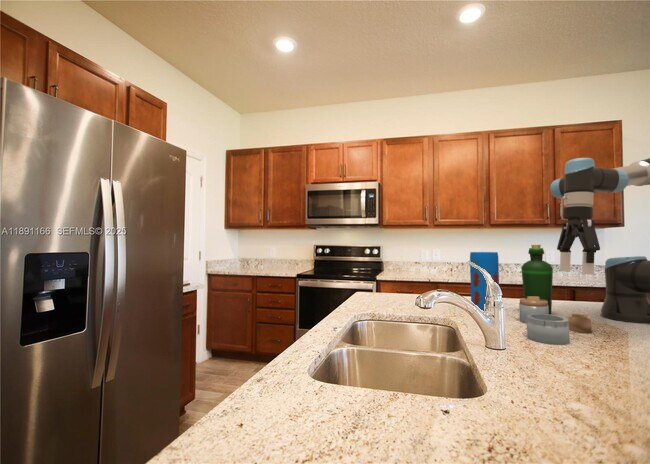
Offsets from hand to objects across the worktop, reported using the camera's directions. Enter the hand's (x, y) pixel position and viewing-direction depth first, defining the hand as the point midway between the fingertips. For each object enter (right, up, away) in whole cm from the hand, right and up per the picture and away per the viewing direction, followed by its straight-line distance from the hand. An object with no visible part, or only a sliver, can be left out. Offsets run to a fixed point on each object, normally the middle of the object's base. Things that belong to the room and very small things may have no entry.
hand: (575, 272), depth 102 cm
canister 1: (-4, -20, +15) cm, 25 cm away
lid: (+4, -20, +3) cm, 20 cm away
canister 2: (-13, -19, -5) cm, 24 cm away
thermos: (-12, -21, +33) cm, 41 cm away
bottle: (+5, -20, +26) cm, 33 cm away
